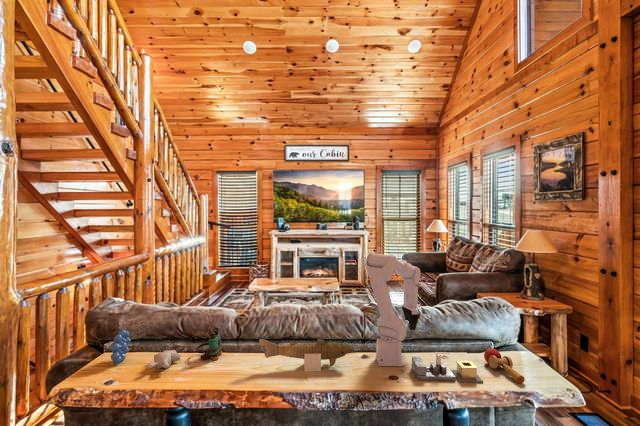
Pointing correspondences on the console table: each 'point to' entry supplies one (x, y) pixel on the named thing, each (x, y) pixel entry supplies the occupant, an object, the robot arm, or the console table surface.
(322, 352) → the wood carving
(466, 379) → the rubber mat
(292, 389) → the console table surface
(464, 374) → the wooden hollow block
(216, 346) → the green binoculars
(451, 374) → the gray fixture base
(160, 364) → the bunny figurine
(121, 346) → the grapes
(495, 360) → the kendama
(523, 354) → the console table surface
